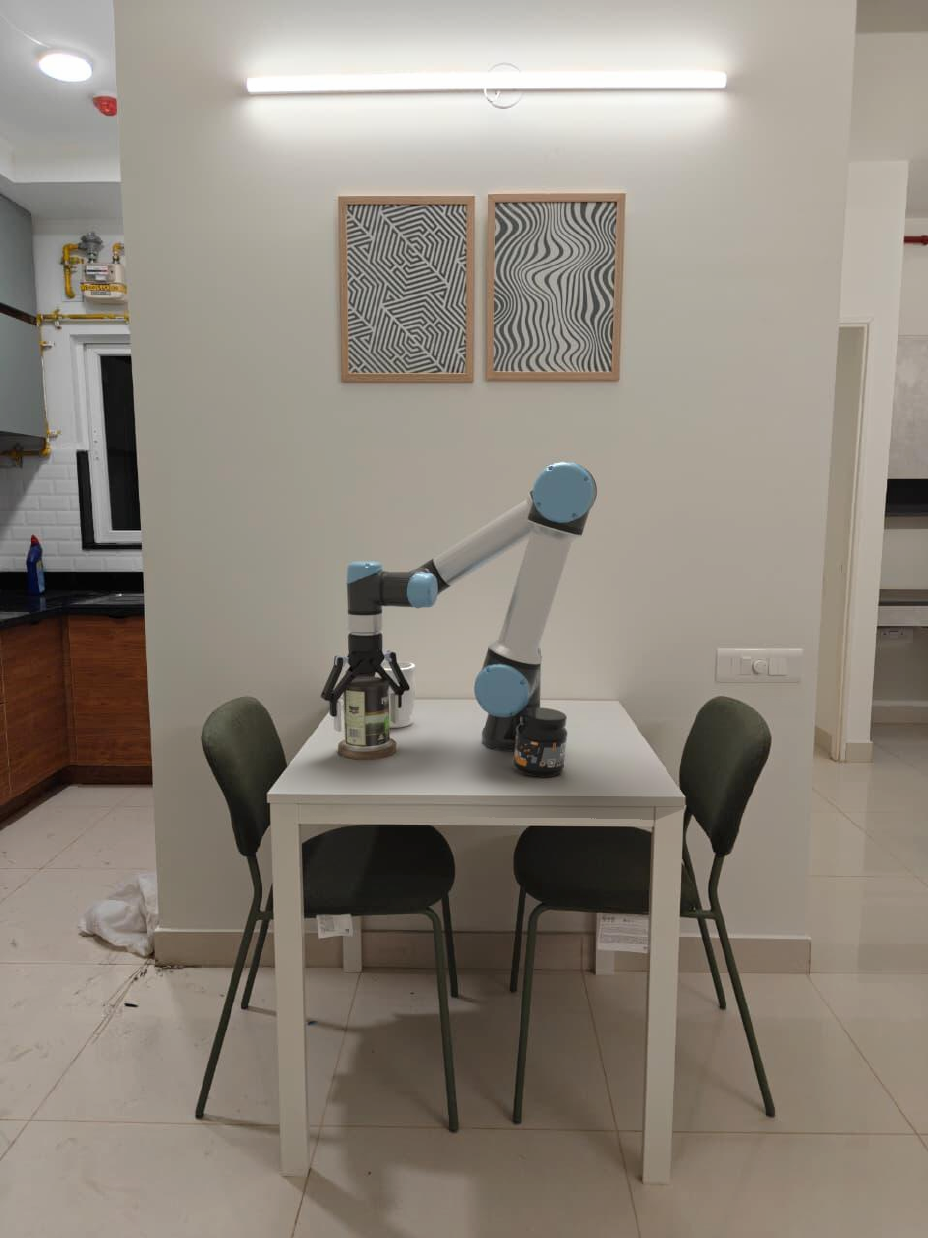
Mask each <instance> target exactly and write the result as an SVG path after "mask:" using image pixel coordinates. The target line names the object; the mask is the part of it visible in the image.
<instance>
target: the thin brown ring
mask: <svg viewBox="0 0 928 1238" xmlns="http://www.w3.org/2000/svg"><path fill="white" fill-rule="evenodd" d="M344 742H345V739H342V740H341V741H339V742H338V745H337V752H338V754H339V755H340V756H341V757H343V758H346V759H351V760H359V761H360V760H364V761H366V760H378V759H384V758H388V757H390V756H392V755H394V754H395V753H396V752H397V750H398V749H397V741H396V740H395V739H394V738H391V737H390V743H389V744H388V745H386V746H384V747H381V748H376V749H353V748H349V747H347V746H345V744H344Z"/></svg>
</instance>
